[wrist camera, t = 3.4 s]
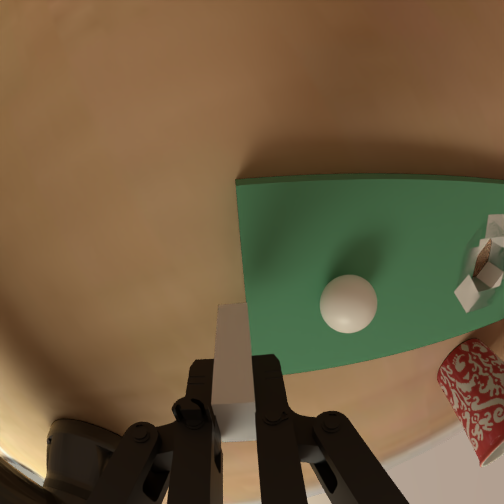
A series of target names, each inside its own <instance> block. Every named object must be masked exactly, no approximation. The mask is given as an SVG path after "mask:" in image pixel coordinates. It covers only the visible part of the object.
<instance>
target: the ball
mask: <svg viewBox="0 0 504 504" xmlns="http://www.w3.org/2000/svg"><path fill="white" fill-rule="evenodd" d="M376 310H377V296H376V293H375V290H374V289H373V287H372V285H371V284H370V283H369V282H368V281H367V280H365V279H364V278H362V277H360V276H357V275H342V276H339V277H337V278H335V279H333V280H332V281H331V282H329V283H328V284H327V286H326V287H325V288H324V290H323V292H322V295H321V298H320V311H321V315H322V317H323V319H324V321H325V322H326V323H327V325H328V326H330V327H331V328H332V329H334V330H336V331H338V332H341V333H354V332H358V331H360V330H362V329H364V328H365V327H366V326H367V325H368V324H369V323H370V322H371V321H372V319H373V318H374V316H375V313H376Z"/></svg>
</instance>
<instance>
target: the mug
mask: <svg viewBox="0 0 504 504" xmlns="http://www.w3.org/2000/svg"><path fill="white" fill-rule="evenodd" d="M437 380H438V383H439V385H440V387H441V388H442V390H443V392H444V393H445V395H446V397H447V398H448V400H449V402H450V404H451V406H452V408H453V409H454V411H455V413H456V415H457V416H458V418H459V420H460V422H461V424H462V426H463V428H464V430H465V432H466V434H467V436H468V438H469V440H470V442H471V444H472V446H473V448H474V450H475V452H476V454H477V456H478V458H479V461H480V467H484V466H486V465H488V464H490V463H492V462H493V461H495V460H496V459H498V458H499V457H501V456H502V455H503V454H504V362H503V361H502V360H501V359H500V358H499V357H498V356H497V355H496V354H494V353H493V352H492V351H491V350H490V349H489V348H488V347H487V346H486V345H485V344H484V343H483V342H482V341H480V340H479V339H470V340H467V341H465V342H463V343H462V344H460V345H459V346H458V347H457V348H455V349H454V350H453V351H452V352H451V353H450V354H449V356H448V357H447V358H446V359H445V360H444V362H443V364H442V365H441V367H440V369H439V372H438V376H437Z"/></svg>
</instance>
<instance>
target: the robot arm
mask: <svg viewBox="0 0 504 504" xmlns="http://www.w3.org/2000/svg"><path fill="white" fill-rule="evenodd" d="M187 384H188V385H187V389H186V396H185V397H183V398H181V399H179V400H177V401H176V402H175V403H174V405H173V407H172V412H173V414H174V416H175V418H176V421H174V422H173V423H170V424H167V425H163V426H159V427H155V426H154V425H152V424H150V423H148V422H138V423H135V424H133V425H131V426H130V427H129V428H128V429H127V430H126V432H125V434H124V436H123V437H120V436H118V435H116V434H114V433H112V432H110V431H107V430H105V429H102V428H100V427H97V426H94V425H91V424H88V423H85V422H81V421H76V420H70V419H61V420H57V421H55V422H54V423H53V424H52V426H51V428H50V431H49V433H48V436H47V475H46V478H45V481H44V484H43V487H42V486H40V485H39V484H37V483H36V482H34V481H33V480H31V479H30V478H28V477H27V476H25V475H24V474H23V473H21V472H20V471H19V470H17V469H16V468H14V467H13V466H12V465H10V464H9V463H8V462H7V461H5V460H4V459H3V458H2V457H0V504H162V501H163V499H164V497H165V494H166V492H167V489H168V487H169V490H168V500H167V504H223V453H222V449H221V440H222V442H239V441H255V440H257V452H258V465H259V477H260V490H261V502H262V504H308V502H307V496H306V491H305V485H304V480H303V474H302V469H301V463H300V462H307V463H310V465H311V467H312V469H313V471H314V472H315V474H316V476H317V478H318V480H319V482H320V483H321V485H322V487H323V489H324V491H325V492H326V494H327V496H328V498H329V499H330V501H331V503H332V504H409V503H408V501H407V500H406V498H405V497H404V496H403V494H402V493H401V492H400V490H399V489H398V487H397V486H396V485H395V484H394V482H393V481H392V479H391V478H390V477H389V475H388V474H387V472H386V471H385V470H384V468H383V467H382V465H381V464H380V463H379V461H378V460H377V459H376V457H375V456H374V454H373V453H372V452H371V450H370V449H369V447H368V446H367V445H366V443H365V442H364V440H363V439H362V438H361V436H360V435H359V433H358V432H357V430H356V429H355V428H354V426H353V425H352V423H351V422H350V421H349V419H348V418H347V417H346V416H345V415H344V414H342V413H340V412H337V411H327V412H323V413H321V414H320V415H318V416H317V417H307V416H302V415H299V414H297V413H295V412H294V411H292V410H291V409H290V407H289V405H288V402H287V397H286V391H285V386H284V381H283V375H282V371H281V365H280V361H279V359H278V358H277V357H276V356H275V355H274V354H265V355H254V356H252V350H251V338H250V327H249V317H248V306H247V303H236V304H223V305H218V315H217V327H216V340H215V354H214V359H201V360H195V361H194V363H193V364H192V365H191V367H190V370H189V378H188V383H187Z"/></svg>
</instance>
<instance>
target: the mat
mask: <svg viewBox="0 0 504 504" xmlns="http://www.w3.org/2000/svg"><path fill="white" fill-rule="evenodd" d="M235 181H236V194H237V205H238V217H239V229H240V240H241V251H242V262H243V273H244V284H245V295H246V303H247V306H248V317H249V327H250V338H251V350H252V356H254V355H265V354H274V355H275V356H276V357H277V358H278V359H279V361H280V365H281V371H282V375H286V374H294V373H301V372H308V371H315V370H321V369H327V368H332V367H338V366H343V365H349V364H354V363H359V362H363V361H368V360H373V359H377V358H381V357H386V356H390V355H394V354H398V353H402V352H405V351H409V350H413V349H417V348H420V347H424V346H427V345H430V344H434V343H437V342H440V341H444V340H447V339H450V338H453V337H456V336H459V335H462V334H465V333H468V332H470V331H473V330H476V329H479V328H481V327H484V326H487V325H489V324H492V323H494V322H497V321H499V320H502V319H504V180H499V179H488V178H477V177H464V176H448V175H427V174H385V173H359V174H316V175H293V176H276V177H261V178H247V179H235ZM490 238H491V240H492V244H491V249H490V254H489V259H488V262H487V263H486V265H485V266H484V267H483V268H482V270H481V271H480V272H479V274H478V275H477V276H476V277H473V272H474V268H475V264H476V259H477V256H478V254H479V253H480V252H481V251H482V249H483V248H484V246H485V245H486V244H487V242H488V241H489V240H490ZM342 275H357V276H360V277H362V278H364V279H365V280H367V281H368V282H369V283H370V284H371V285H372V287H373V289H374V290H375V293H376V296H377V310H376V313H375V316H374V318H373V319H372V321H371V322H370V323H369V324H368V325H367V326H366V327H365V328H364V329H362V330H360V331H358V332H354V333H341V332H338V331H336V330H334V329H332V328H331V327H330V326H328V325H327V323H326V322H325V321H324V319H323V317H322V315H321V311H320V298H321V295H322V292H323V290H324V288H325V287H326V286H327V284H328V283H329V282H331V281H332V280H333V279H335V278H337V277H339V276H342ZM472 277H473V278H472Z"/></svg>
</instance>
